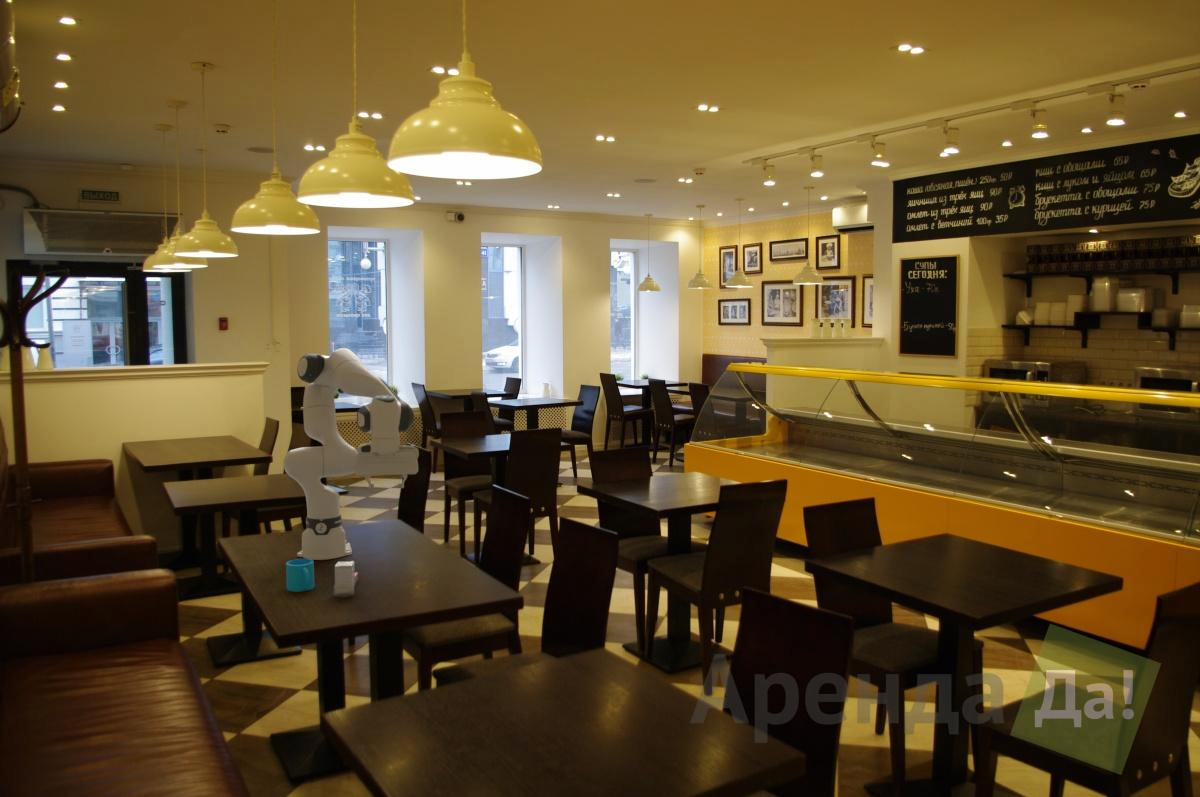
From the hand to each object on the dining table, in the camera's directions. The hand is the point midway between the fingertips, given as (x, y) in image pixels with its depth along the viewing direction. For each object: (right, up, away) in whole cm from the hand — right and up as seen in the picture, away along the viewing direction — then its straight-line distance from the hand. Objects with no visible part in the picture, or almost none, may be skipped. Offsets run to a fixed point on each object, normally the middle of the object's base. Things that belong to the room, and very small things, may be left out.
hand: (386, 488), depth 289 cm
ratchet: (-10, -30, -11) cm, 33 cm away
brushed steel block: (-9, -28, -17) cm, 33 cm away
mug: (-23, -30, -11) cm, 40 cm away
